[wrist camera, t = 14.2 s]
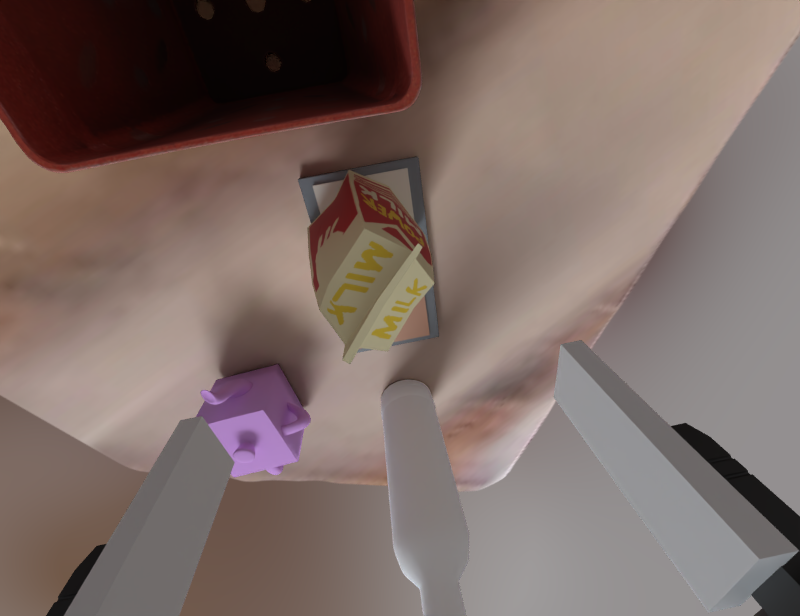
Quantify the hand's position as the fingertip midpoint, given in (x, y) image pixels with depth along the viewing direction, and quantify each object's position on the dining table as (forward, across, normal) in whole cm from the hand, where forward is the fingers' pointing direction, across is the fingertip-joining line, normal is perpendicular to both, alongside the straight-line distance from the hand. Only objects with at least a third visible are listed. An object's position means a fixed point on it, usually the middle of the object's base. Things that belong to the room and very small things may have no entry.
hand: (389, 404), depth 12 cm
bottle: (+27, 0, -28) cm, 38 cm away
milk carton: (+25, 0, 0) cm, 25 cm away
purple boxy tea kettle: (+27, -19, -21) cm, 39 cm away
